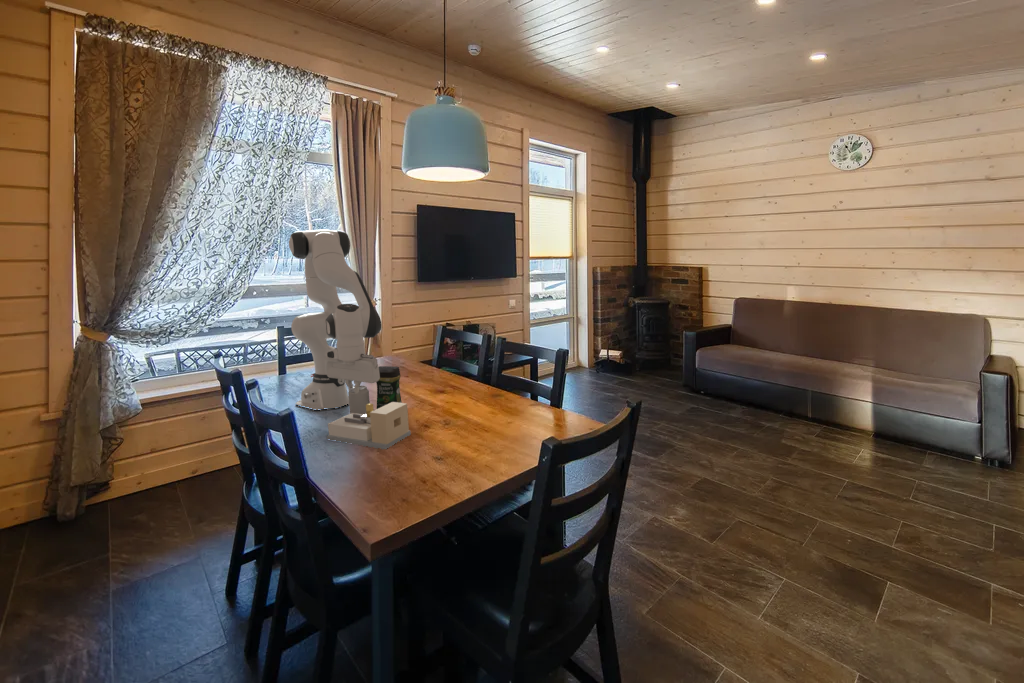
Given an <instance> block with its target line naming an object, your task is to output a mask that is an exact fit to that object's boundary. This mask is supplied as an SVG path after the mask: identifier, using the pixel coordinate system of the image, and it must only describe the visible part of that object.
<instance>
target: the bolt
mask: <svg viewBox="0 0 1024 683" xmlns="http://www.w3.org/2000/svg"><path fill="white" fill-rule="evenodd" d="M374 410H375V409H374V403H370V404H366V414H364V415H362V416H360V420H365V423H371V419H370V412H372V411H374Z"/></svg>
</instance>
